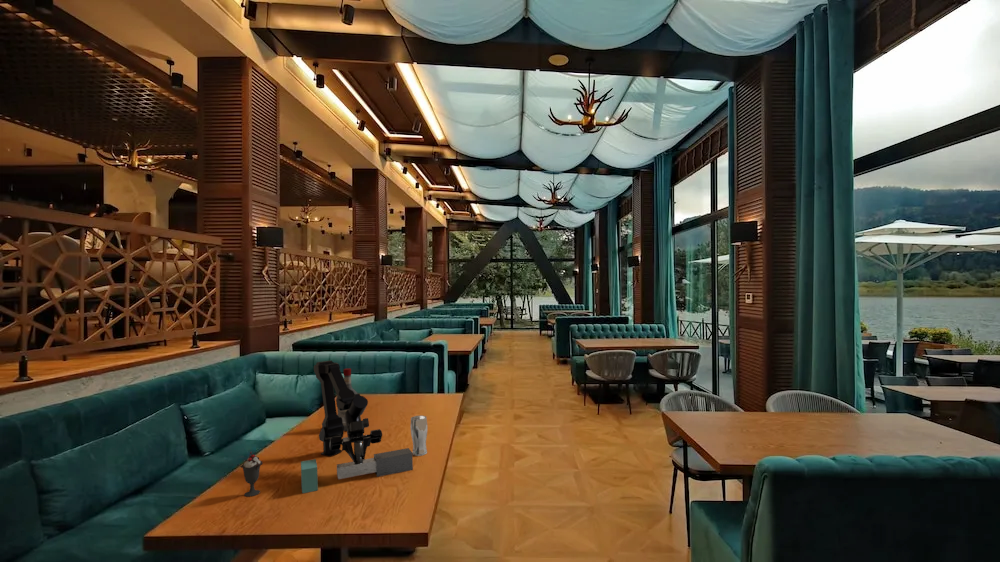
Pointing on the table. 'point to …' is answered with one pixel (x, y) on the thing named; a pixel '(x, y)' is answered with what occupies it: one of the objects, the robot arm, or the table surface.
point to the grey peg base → (356, 464)
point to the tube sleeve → (393, 462)
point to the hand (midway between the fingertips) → (359, 460)
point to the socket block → (309, 476)
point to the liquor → (348, 381)
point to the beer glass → (419, 435)
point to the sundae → (251, 473)
